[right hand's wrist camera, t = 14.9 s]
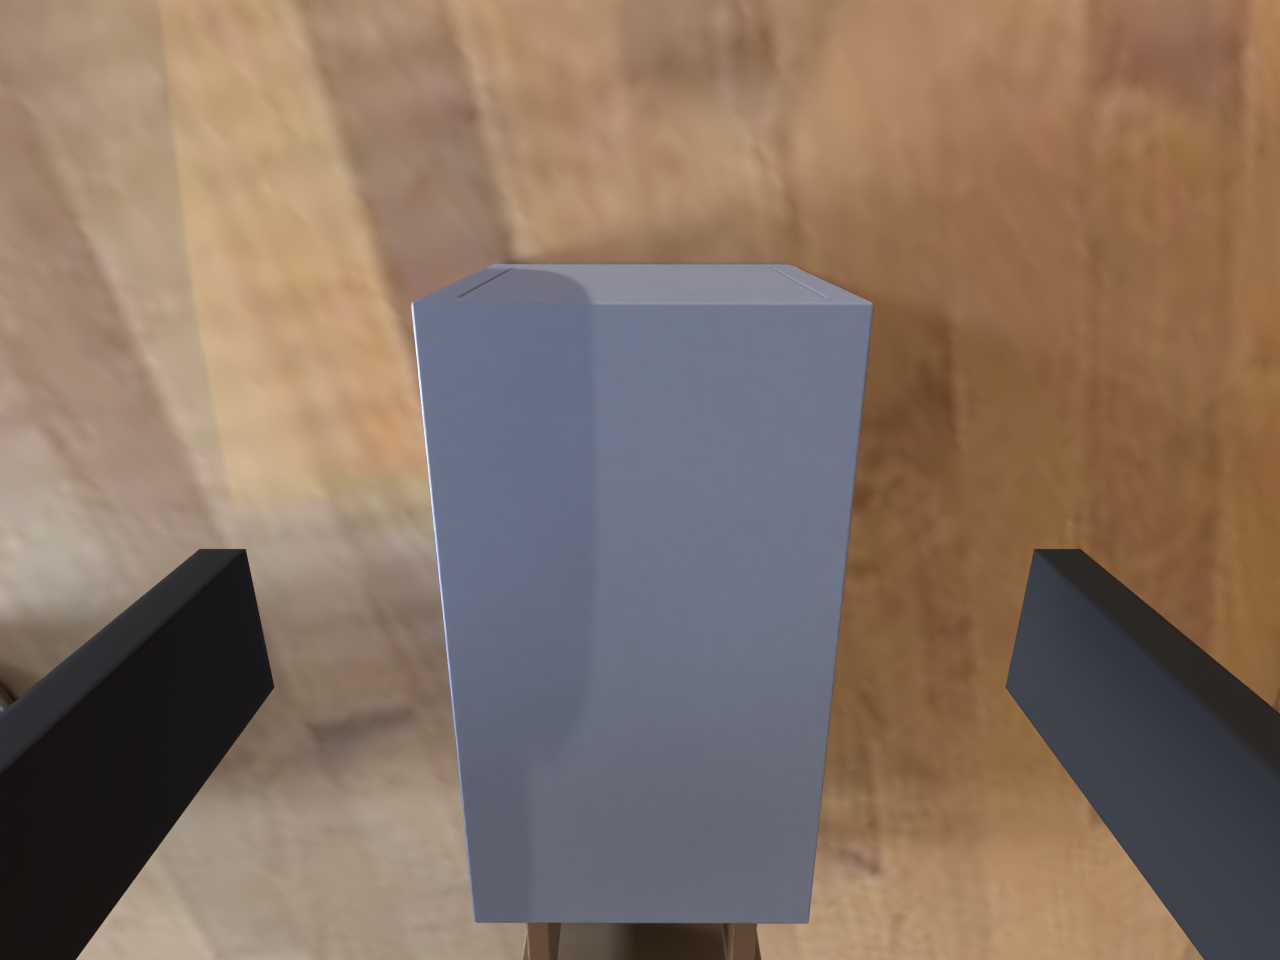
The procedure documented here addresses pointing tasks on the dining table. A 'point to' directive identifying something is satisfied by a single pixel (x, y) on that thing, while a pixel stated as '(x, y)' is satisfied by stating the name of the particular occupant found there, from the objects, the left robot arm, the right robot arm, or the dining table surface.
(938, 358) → the dining table surface
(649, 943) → the drawer
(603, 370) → the cabinet
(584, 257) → the dining table surface
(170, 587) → the right robot arm
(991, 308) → the dining table surface
